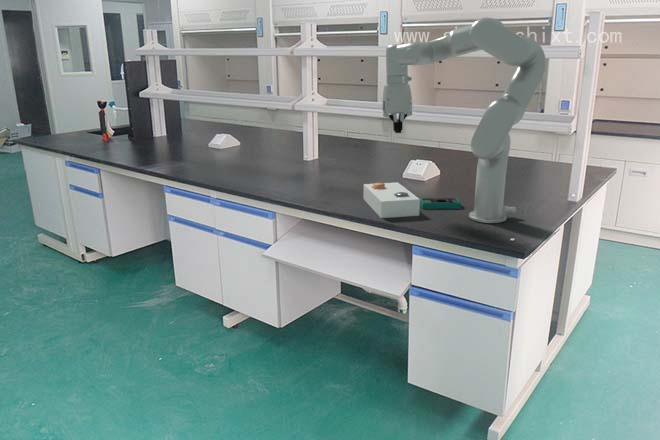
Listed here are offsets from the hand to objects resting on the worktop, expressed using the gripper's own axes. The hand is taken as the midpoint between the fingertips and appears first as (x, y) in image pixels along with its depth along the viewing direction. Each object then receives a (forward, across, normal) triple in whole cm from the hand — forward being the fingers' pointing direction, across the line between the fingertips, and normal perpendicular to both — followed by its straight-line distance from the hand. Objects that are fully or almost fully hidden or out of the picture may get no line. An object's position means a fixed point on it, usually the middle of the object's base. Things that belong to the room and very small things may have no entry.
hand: (397, 132), depth 193 cm
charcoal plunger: (+26, +2, +9) cm, 28 cm away
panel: (+27, +4, +2) cm, 28 cm away
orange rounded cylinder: (+25, +7, -4) cm, 26 cm away
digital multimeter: (+29, -14, +5) cm, 32 cm away
